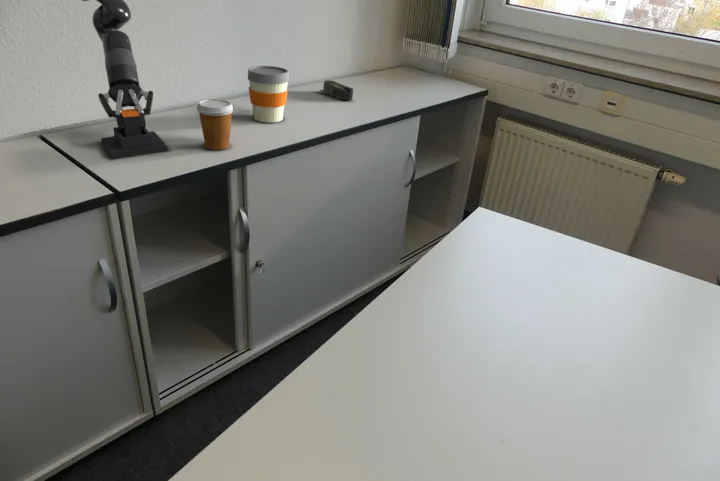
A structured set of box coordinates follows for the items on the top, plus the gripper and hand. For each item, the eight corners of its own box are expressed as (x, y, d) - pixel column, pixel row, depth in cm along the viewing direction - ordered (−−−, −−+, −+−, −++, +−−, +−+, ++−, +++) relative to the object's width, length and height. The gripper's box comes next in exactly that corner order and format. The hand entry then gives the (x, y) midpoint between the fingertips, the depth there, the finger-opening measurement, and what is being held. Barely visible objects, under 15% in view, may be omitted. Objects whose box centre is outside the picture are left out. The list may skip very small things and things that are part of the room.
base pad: (111, 159, 138) (109, 142, 135) (101, 143, 146) (98, 127, 144) (167, 151, 145) (165, 135, 142) (154, 136, 153) (152, 120, 151)
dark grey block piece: (354, 87, 193) (324, 77, 201) (349, 88, 191) (319, 78, 199) (353, 101, 196) (324, 90, 204) (347, 102, 194) (318, 91, 202)
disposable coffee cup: (240, 149, 149) (239, 106, 143) (206, 154, 144) (204, 109, 138) (226, 138, 156) (225, 97, 150) (194, 142, 151) (191, 99, 145)
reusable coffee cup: (251, 124, 165) (250, 74, 158) (245, 112, 175) (244, 65, 168) (292, 123, 169) (293, 75, 162) (283, 112, 179) (284, 65, 172)
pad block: (127, 145, 142) (122, 115, 138) (124, 138, 146) (120, 109, 142) (143, 143, 144) (139, 114, 140) (140, 137, 147) (136, 108, 143)
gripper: (150, 76, 150) (161, 133, 147) (93, 79, 145) (104, 138, 142) (149, 61, 143) (161, 121, 140) (90, 63, 138) (101, 125, 135)
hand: (132, 129), depth 141 cm, fingers closed on pad block, 4 cm apart
